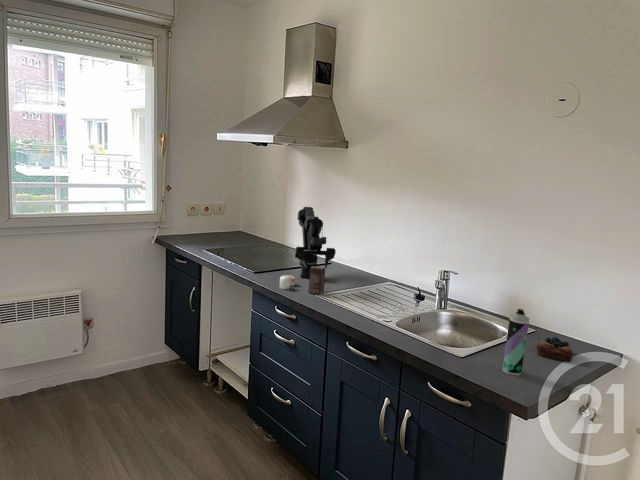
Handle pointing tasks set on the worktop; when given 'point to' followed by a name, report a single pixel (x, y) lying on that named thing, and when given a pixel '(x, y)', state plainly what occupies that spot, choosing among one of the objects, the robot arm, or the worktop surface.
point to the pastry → (555, 349)
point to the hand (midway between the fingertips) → (316, 268)
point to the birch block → (291, 280)
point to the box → (316, 280)
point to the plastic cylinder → (285, 282)
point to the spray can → (516, 343)
